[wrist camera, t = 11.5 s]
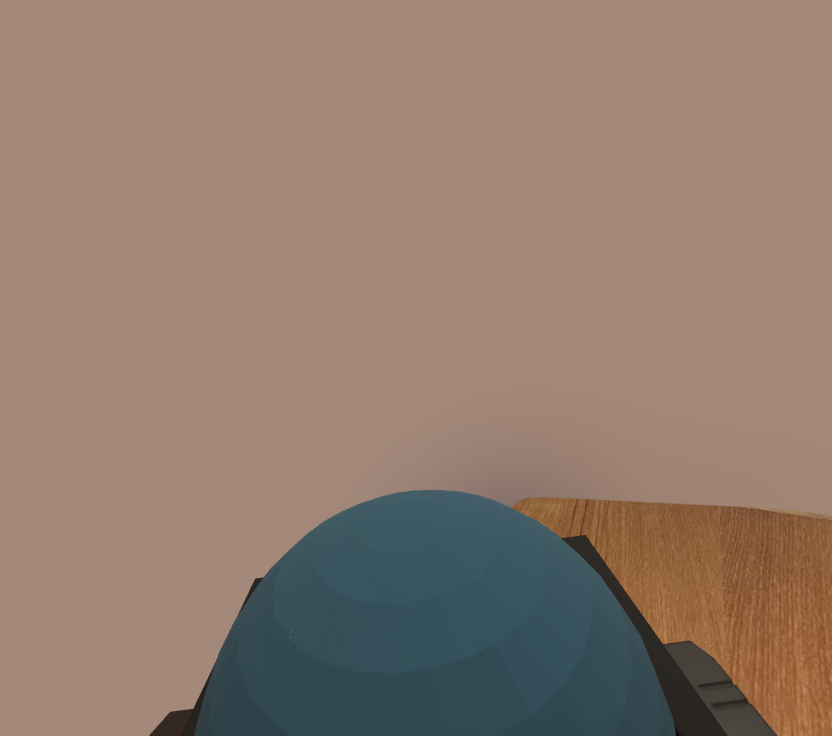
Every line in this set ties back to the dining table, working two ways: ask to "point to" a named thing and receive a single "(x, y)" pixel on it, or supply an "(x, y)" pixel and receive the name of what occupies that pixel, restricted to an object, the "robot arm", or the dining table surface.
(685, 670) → the robot arm
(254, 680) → the dark teal ovoid
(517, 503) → the dining table surface
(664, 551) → the dining table surface
